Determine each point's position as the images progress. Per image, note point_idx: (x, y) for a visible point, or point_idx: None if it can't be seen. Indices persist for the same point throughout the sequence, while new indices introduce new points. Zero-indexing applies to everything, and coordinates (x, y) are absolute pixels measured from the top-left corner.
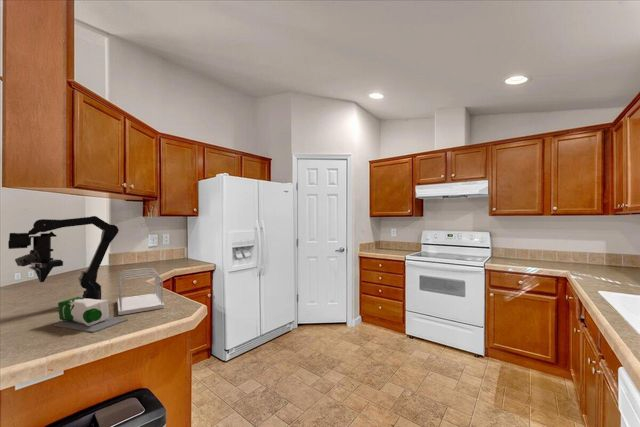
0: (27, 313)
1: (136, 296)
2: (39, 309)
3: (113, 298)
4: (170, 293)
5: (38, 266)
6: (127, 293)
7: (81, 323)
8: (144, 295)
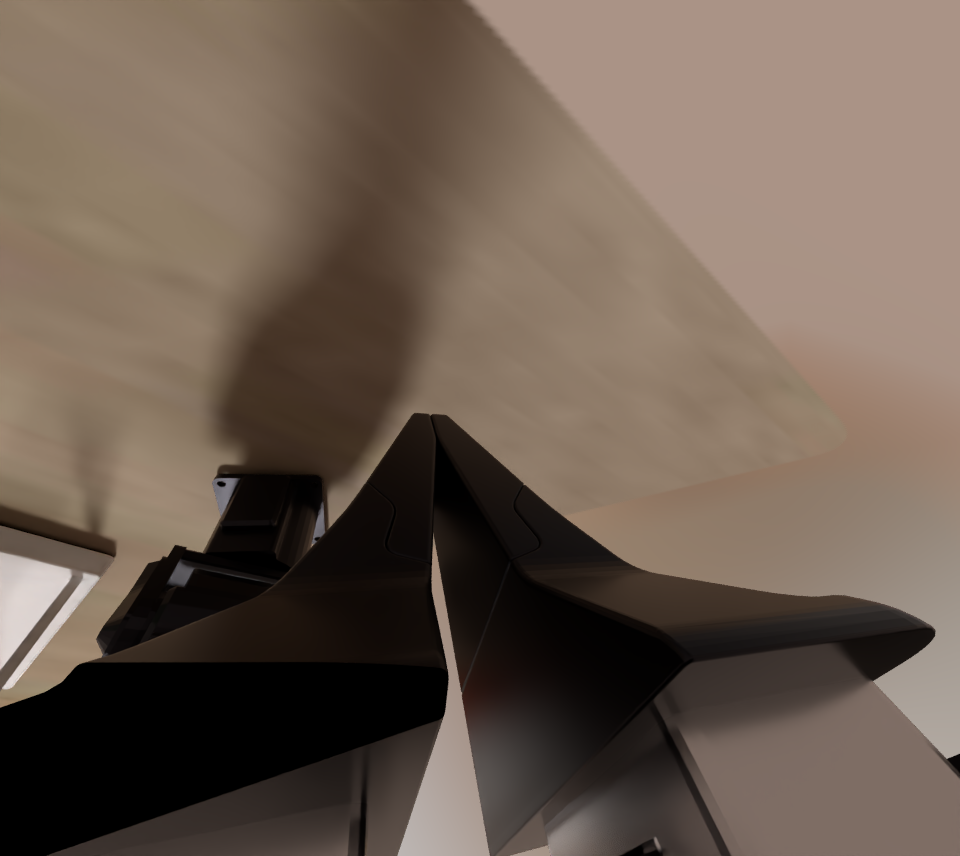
0: (464, 225)
1: (28, 629)
2: (477, 327)
3: None
4: None
5: (610, 784)
6: None
7: None
8: (10, 652)
